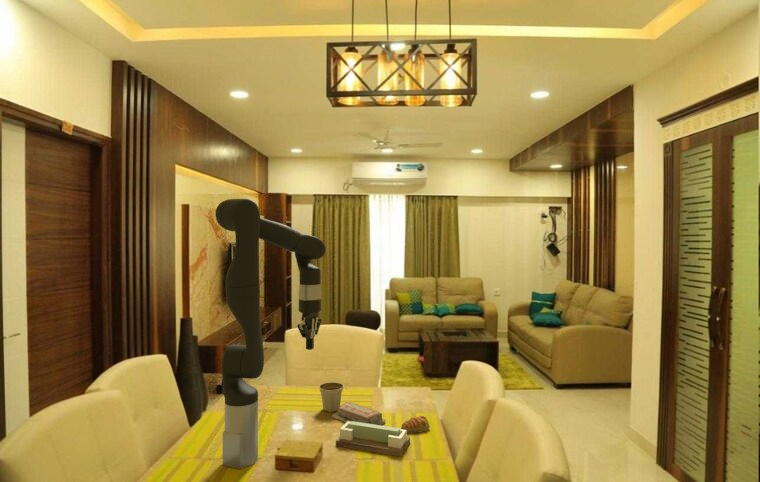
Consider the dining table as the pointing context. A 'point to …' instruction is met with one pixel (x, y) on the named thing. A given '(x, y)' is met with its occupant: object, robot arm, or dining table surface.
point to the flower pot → (331, 395)
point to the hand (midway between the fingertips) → (309, 349)
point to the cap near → (397, 439)
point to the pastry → (416, 424)
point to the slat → (373, 431)
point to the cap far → (346, 432)
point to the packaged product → (358, 414)
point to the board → (372, 446)
